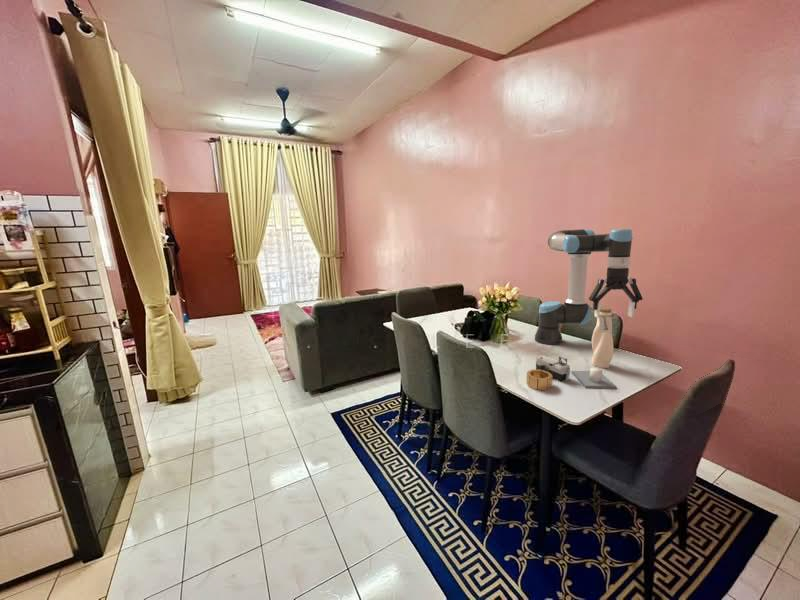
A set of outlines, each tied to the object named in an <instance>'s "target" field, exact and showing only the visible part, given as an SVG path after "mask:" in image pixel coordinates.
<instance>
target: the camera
mask: <svg viewBox="0 0 800 600" xmlns="http://www.w3.org/2000/svg"><path fill="white" fill-rule="evenodd" d="M557 357H558V359H555V358H552V357H549V356H548V355H539V356H537V357H536V360H535V370H544V371H547V372H549V373H551V375H552V376H553V378H552V380H556V381H558V382H564V381H568V380H569V378H570V375H571V367H570V364H568V358H566V357H564V356H560V355H558V356H557ZM562 359H563V360H564V361H565V362H563V361H562Z"/></svg>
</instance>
